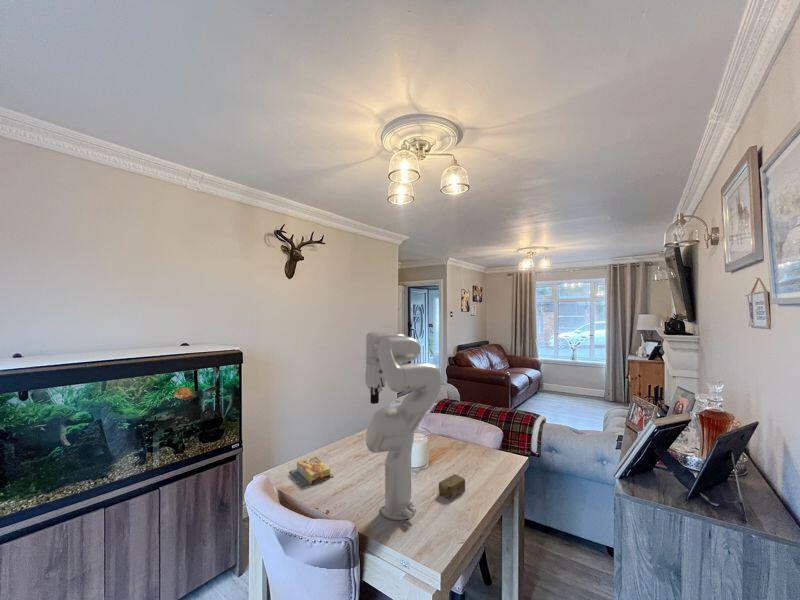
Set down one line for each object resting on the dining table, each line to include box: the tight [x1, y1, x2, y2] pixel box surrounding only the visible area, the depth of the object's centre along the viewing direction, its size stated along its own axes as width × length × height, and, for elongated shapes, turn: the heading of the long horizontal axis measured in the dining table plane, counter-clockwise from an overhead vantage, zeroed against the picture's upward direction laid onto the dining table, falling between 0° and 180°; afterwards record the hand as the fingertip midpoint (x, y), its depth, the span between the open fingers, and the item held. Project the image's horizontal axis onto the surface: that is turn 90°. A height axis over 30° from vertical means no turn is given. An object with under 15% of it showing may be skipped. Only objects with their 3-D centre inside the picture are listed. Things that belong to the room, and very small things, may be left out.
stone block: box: [438, 473, 466, 500], centre depth 133 cm, size 6×12×5 cm, turn 135°
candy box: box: [296, 456, 331, 485], centre depth 146 cm, size 9×4×15 cm
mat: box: [289, 468, 335, 487], centre depth 147 cm, size 16×14×1 cm
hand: (374, 403), depth 145 cm, fingers closed
